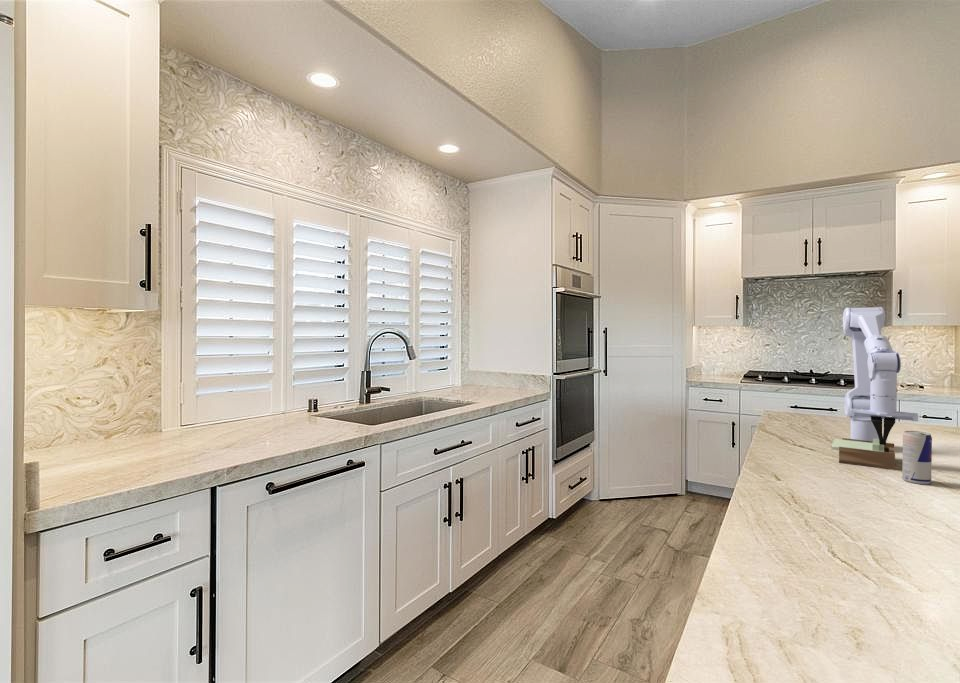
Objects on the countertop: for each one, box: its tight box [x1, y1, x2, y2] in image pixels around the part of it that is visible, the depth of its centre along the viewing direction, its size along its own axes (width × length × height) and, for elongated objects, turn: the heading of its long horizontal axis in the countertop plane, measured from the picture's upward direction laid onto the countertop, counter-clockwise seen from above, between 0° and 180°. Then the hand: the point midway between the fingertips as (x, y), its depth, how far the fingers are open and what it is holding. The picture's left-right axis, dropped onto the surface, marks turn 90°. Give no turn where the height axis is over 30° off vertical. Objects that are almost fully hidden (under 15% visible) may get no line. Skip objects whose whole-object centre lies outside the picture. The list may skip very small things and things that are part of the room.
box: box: [838, 437, 896, 471], centre depth 141 cm, size 14×12×4 cm
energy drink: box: [901, 430, 933, 485], centre depth 122 cm, size 5×5×12 cm
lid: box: [830, 438, 884, 452], centre depth 142 cm, size 12×12×2 cm
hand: (882, 444), depth 138 cm, fingers closed
